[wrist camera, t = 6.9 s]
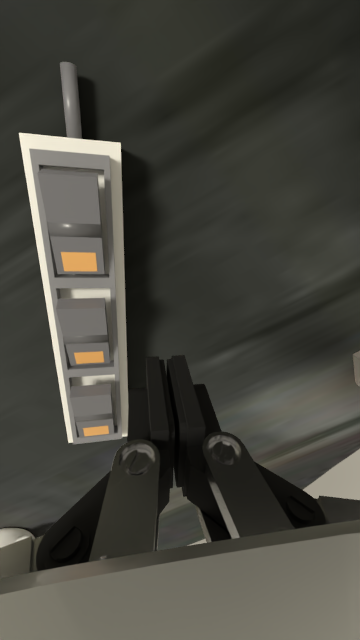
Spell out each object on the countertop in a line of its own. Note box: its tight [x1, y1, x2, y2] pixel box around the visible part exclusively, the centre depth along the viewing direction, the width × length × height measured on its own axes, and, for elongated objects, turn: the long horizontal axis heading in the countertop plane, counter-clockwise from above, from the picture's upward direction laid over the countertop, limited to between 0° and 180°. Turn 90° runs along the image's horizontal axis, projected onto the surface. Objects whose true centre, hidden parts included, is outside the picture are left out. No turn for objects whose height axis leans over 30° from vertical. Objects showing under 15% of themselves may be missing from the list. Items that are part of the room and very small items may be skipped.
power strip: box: [19, 62, 128, 444], centre depth 28 cm, size 8×38×4 cm, turn 177°
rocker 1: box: [37, 169, 105, 274], centre depth 22 cm, size 4×8×2 cm, turn 177°
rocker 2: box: [56, 298, 110, 366], centre depth 26 cm, size 4×8×2 cm, turn 177°
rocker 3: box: [70, 384, 114, 438], centre depth 31 cm, size 4×8×2 cm, turn 177°
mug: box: [0, 528, 35, 548], centre depth 40 cm, size 9×12×11 cm
